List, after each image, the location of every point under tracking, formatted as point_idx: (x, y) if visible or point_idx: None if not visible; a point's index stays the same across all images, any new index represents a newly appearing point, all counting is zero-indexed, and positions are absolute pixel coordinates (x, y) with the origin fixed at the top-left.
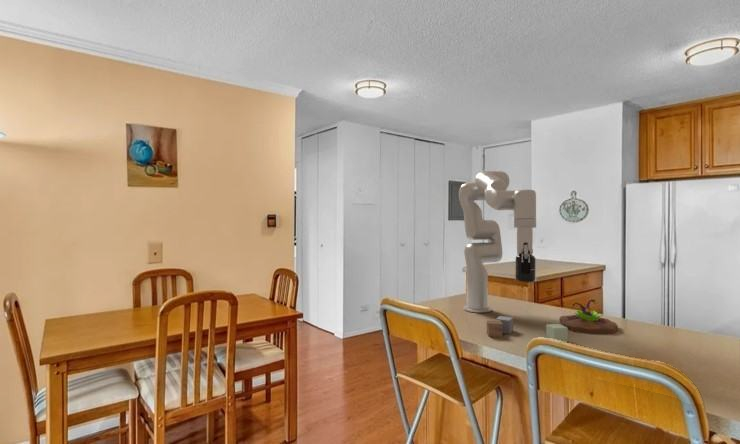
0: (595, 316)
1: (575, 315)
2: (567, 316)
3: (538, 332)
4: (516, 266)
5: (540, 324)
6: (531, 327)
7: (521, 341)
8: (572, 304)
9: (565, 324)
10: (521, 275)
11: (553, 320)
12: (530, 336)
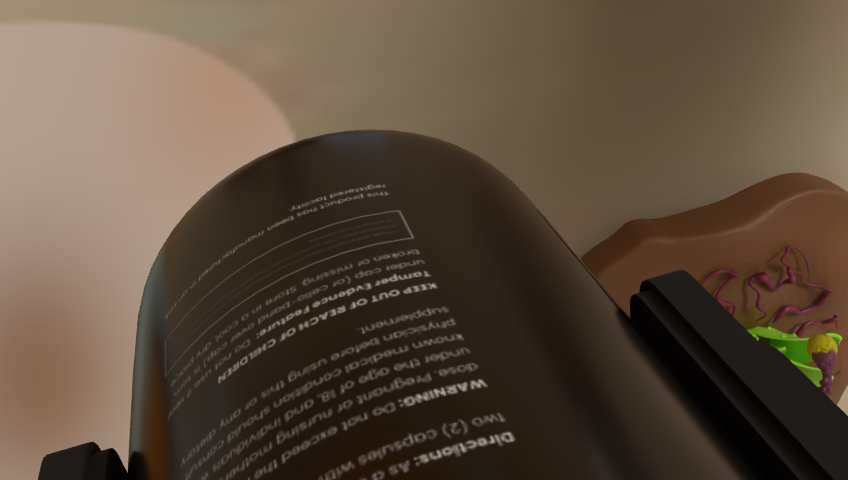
0: (836, 386)
1: (826, 294)
2: (781, 257)
3: (417, 90)
4: (243, 411)
5: (676, 58)
6: (555, 6)
7: (35, 12)
8: (820, 357)
9: (618, 259)
10: (133, 388)
11: (821, 127)
12: (254, 54)
